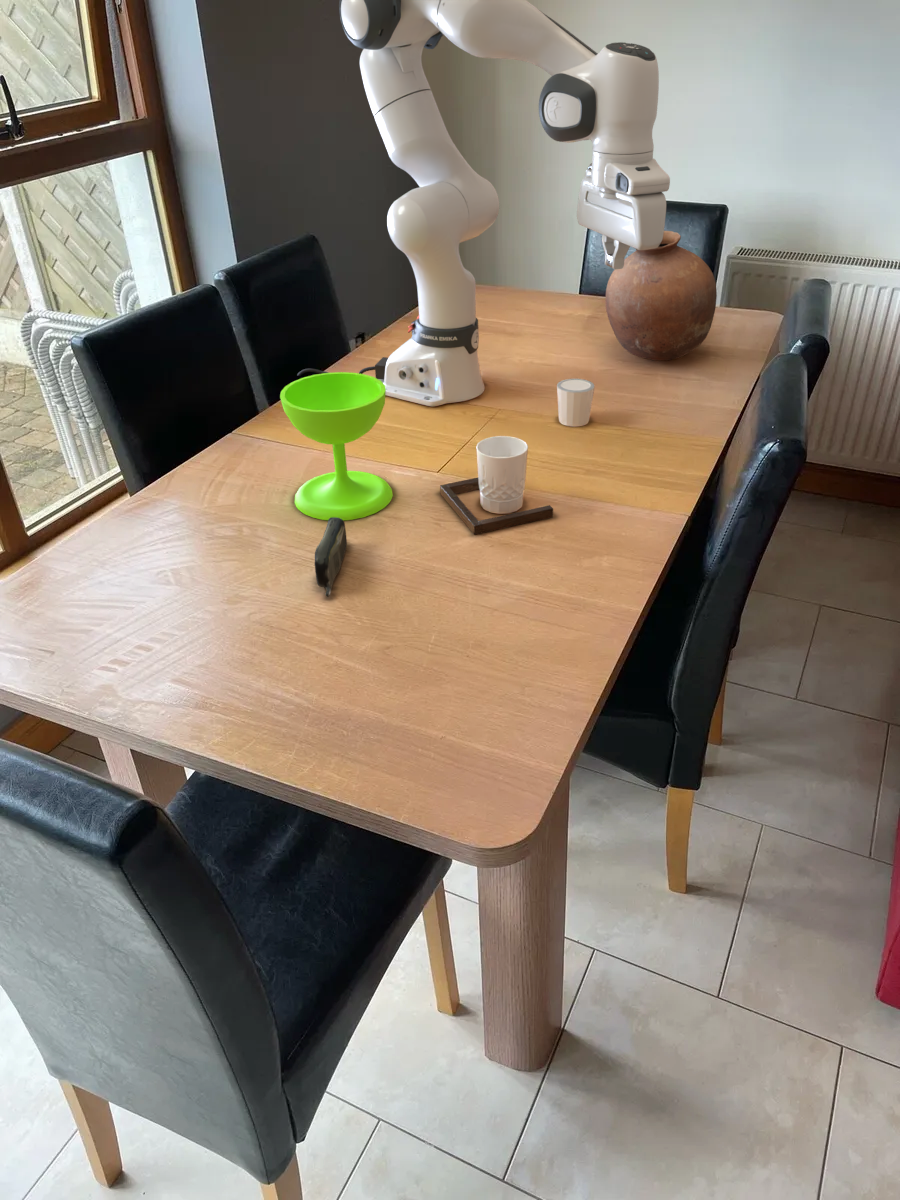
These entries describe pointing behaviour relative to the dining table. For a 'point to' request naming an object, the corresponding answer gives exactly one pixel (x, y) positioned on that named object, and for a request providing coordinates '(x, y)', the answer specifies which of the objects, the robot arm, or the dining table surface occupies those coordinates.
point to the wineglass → (337, 441)
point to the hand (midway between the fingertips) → (614, 267)
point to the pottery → (661, 301)
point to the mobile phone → (330, 553)
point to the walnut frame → (489, 524)
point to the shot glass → (574, 401)
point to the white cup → (502, 473)
